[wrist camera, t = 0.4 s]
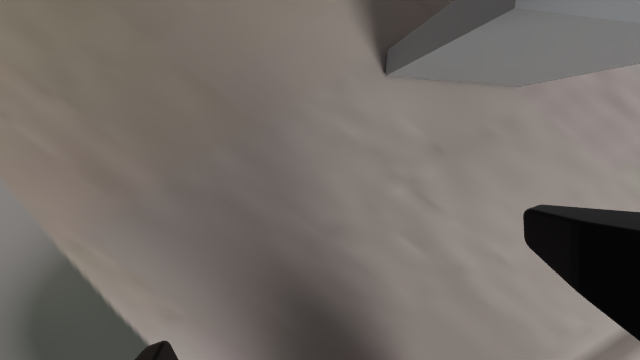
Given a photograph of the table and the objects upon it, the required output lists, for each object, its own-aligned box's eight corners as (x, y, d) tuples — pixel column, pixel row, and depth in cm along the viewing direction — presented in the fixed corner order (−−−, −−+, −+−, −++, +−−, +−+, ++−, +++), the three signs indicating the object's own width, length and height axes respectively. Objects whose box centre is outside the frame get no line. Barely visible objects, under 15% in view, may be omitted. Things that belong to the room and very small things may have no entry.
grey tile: (519, 86, 23) (770, 38, 12) (385, 76, 22) (514, 8, 10) (523, 58, 23) (783, -22, 11) (387, 44, 22) (523, -63, 10)
